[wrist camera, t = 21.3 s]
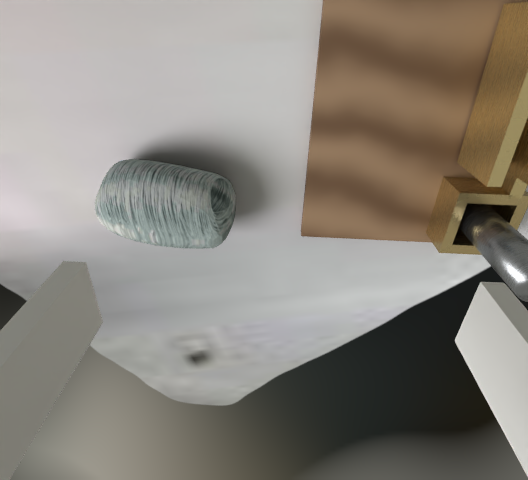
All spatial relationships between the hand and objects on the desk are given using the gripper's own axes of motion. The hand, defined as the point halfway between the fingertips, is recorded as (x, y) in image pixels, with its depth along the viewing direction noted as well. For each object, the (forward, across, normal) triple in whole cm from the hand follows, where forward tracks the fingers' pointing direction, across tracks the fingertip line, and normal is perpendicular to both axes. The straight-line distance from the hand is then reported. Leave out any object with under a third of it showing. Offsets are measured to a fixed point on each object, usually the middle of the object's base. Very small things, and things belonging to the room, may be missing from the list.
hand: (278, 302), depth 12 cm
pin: (+26, +20, -8) cm, 33 cm away
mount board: (+27, +14, -1) cm, 30 cm away
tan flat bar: (+25, +18, +3) cm, 31 cm away
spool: (+27, -11, -8) cm, 30 cm away
